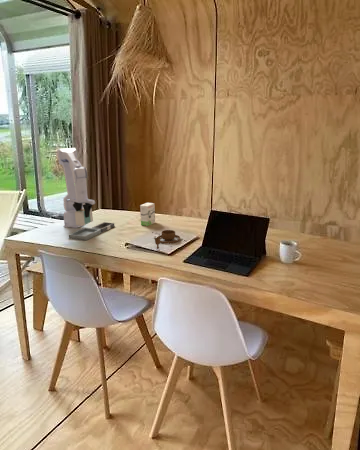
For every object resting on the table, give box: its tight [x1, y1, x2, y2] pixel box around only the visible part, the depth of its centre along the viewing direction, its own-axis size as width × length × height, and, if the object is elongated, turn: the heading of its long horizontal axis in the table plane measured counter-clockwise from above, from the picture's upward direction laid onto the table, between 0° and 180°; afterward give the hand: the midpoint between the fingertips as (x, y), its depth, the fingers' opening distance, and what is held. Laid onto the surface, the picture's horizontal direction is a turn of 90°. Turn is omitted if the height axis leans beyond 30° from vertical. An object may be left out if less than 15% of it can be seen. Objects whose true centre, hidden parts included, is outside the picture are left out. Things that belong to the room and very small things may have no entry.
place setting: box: [154, 229, 181, 250], centre depth 182 cm, size 18×20×6 cm
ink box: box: [139, 202, 156, 227], centre depth 212 cm, size 9×5×12 cm, turn 153°
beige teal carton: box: [75, 207, 94, 227], centre depth 192 cm, size 4×9×7 cm, turn 157°
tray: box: [68, 227, 102, 241], centre depth 194 cm, size 11×14×2 cm
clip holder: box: [91, 221, 115, 233], centre depth 206 cm, size 7×12×2 cm, turn 157°
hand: (83, 216), depth 192 cm, fingers closed on beige teal carton, 4 cm apart
